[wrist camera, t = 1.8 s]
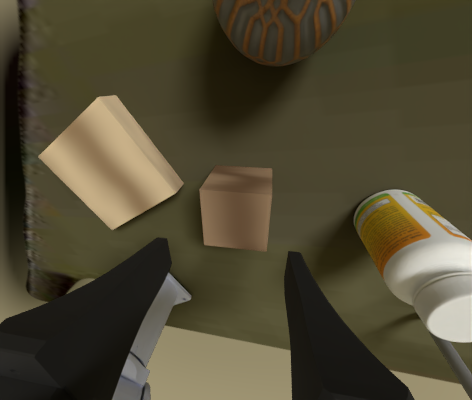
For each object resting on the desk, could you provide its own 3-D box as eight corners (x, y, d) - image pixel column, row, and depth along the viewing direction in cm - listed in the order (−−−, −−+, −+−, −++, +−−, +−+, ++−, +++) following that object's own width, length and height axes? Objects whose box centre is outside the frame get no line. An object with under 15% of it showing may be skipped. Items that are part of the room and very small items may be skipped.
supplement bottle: (349, 239, 21) (401, 347, 12) (355, 190, 18) (424, 282, 10) (413, 238, 20) (516, 354, 11) (428, 185, 17) (575, 284, 9)
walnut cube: (217, 212, 22) (204, 244, 17) (215, 164, 19) (199, 189, 15) (267, 216, 21) (266, 251, 17) (272, 168, 19) (272, 195, 14)
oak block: (126, 216, 24) (112, 230, 22) (62, 148, 21) (38, 156, 19) (185, 181, 21) (175, 193, 19) (119, 94, 18) (98, 96, 16)
